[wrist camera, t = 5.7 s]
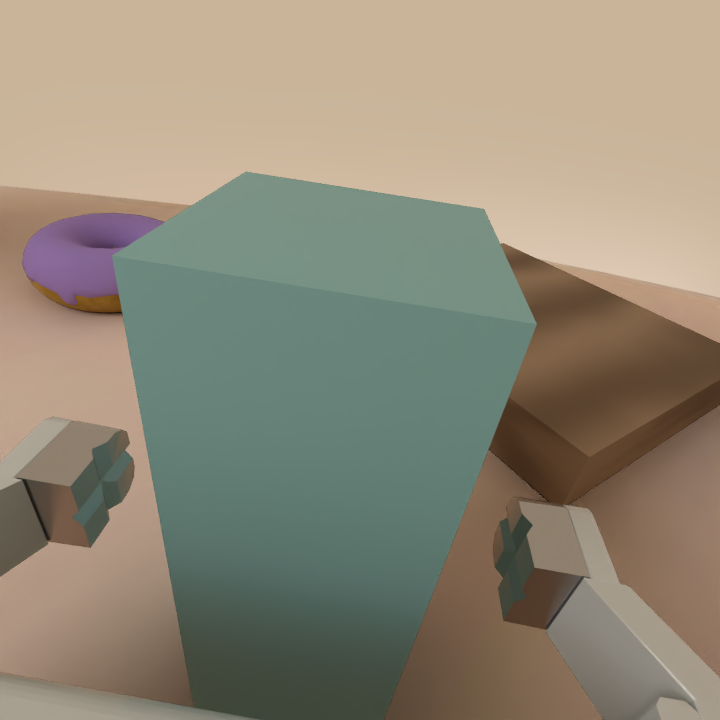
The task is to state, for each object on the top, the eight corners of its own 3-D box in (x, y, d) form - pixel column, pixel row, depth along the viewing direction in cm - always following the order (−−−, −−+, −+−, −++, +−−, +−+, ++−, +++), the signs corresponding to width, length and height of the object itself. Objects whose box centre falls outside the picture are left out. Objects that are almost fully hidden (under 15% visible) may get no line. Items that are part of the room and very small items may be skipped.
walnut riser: (329, 309, 30) (333, 266, 28) (493, 277, 38) (503, 243, 37) (559, 510, 18) (589, 457, 17) (723, 402, 27) (753, 359, 25)
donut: (209, 311, 28) (185, 235, 25) (40, 353, 25) (-10, 274, 22) (194, 248, 35) (174, 184, 32) (62, 276, 33) (27, 209, 30)
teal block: (195, 713, 11) (111, 255, 5) (250, 553, 15) (245, 171, 9) (373, 745, 11) (537, 324, 5) (384, 576, 15) (484, 208, 8)
